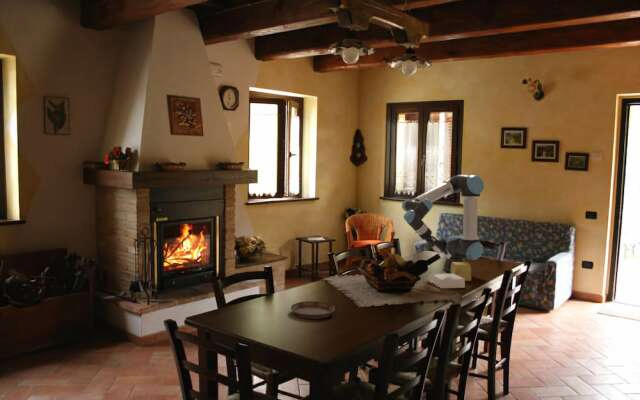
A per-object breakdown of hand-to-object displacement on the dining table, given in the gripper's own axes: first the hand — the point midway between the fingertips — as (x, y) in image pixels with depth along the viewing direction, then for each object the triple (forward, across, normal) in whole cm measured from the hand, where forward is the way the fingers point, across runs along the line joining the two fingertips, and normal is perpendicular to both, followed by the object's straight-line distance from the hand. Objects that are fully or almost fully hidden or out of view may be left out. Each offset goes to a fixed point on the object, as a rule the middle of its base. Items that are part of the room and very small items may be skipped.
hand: (444, 255), depth 329 cm
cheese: (+19, 0, -3) cm, 19 cm away
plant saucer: (-56, +61, -79) cm, 115 cm away
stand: (+7, +14, -14) cm, 21 cm away
